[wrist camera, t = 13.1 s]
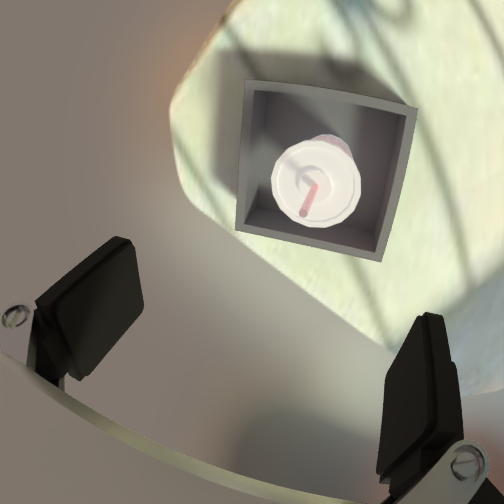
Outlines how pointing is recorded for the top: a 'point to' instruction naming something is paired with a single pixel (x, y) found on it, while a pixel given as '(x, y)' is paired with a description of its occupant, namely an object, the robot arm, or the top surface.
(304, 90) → the bin
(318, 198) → the beverage cup
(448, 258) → the top surface
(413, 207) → the top surface
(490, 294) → the top surface
